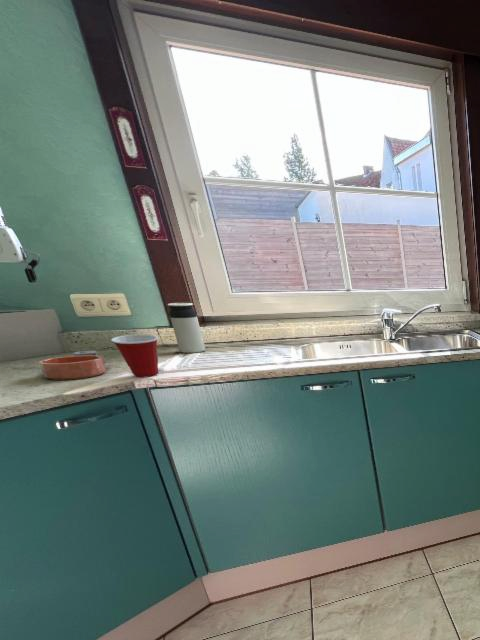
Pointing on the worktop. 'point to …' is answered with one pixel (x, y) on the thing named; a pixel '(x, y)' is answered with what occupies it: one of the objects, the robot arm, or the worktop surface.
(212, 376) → the worktop surface
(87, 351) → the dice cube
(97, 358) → the bowl
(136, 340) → the plastic cup
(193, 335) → the travel mug
